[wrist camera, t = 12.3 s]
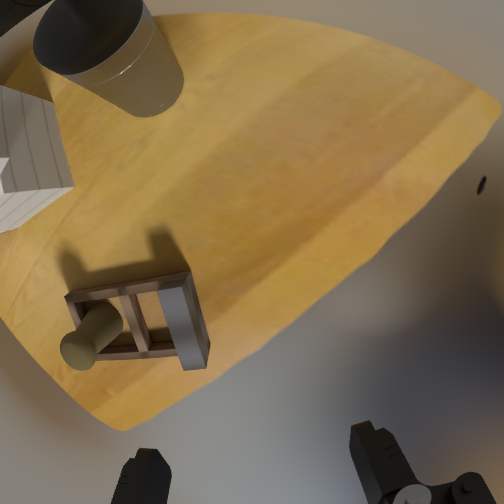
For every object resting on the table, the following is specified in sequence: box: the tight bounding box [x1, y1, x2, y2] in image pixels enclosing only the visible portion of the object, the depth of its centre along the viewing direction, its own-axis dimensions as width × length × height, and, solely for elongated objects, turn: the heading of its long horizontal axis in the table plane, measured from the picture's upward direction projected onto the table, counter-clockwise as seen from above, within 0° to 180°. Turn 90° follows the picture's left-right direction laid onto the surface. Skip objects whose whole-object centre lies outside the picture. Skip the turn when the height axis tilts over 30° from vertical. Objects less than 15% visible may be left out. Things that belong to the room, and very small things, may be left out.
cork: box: [60, 302, 123, 371], centre depth 32 cm, size 6×6×11 cm
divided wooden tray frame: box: [64, 271, 210, 371], centre depth 34 cm, size 11×20×6 cm, turn 100°
